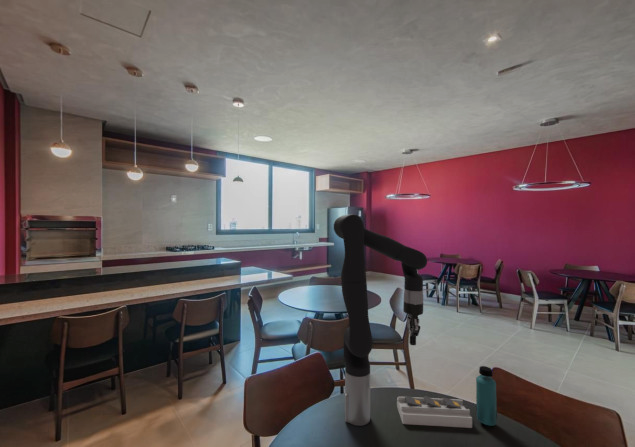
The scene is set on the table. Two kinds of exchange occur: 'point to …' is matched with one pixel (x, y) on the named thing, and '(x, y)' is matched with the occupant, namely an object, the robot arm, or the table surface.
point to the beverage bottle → (486, 397)
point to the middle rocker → (431, 402)
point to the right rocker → (451, 403)
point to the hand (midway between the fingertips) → (412, 344)
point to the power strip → (434, 414)
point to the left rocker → (413, 401)
